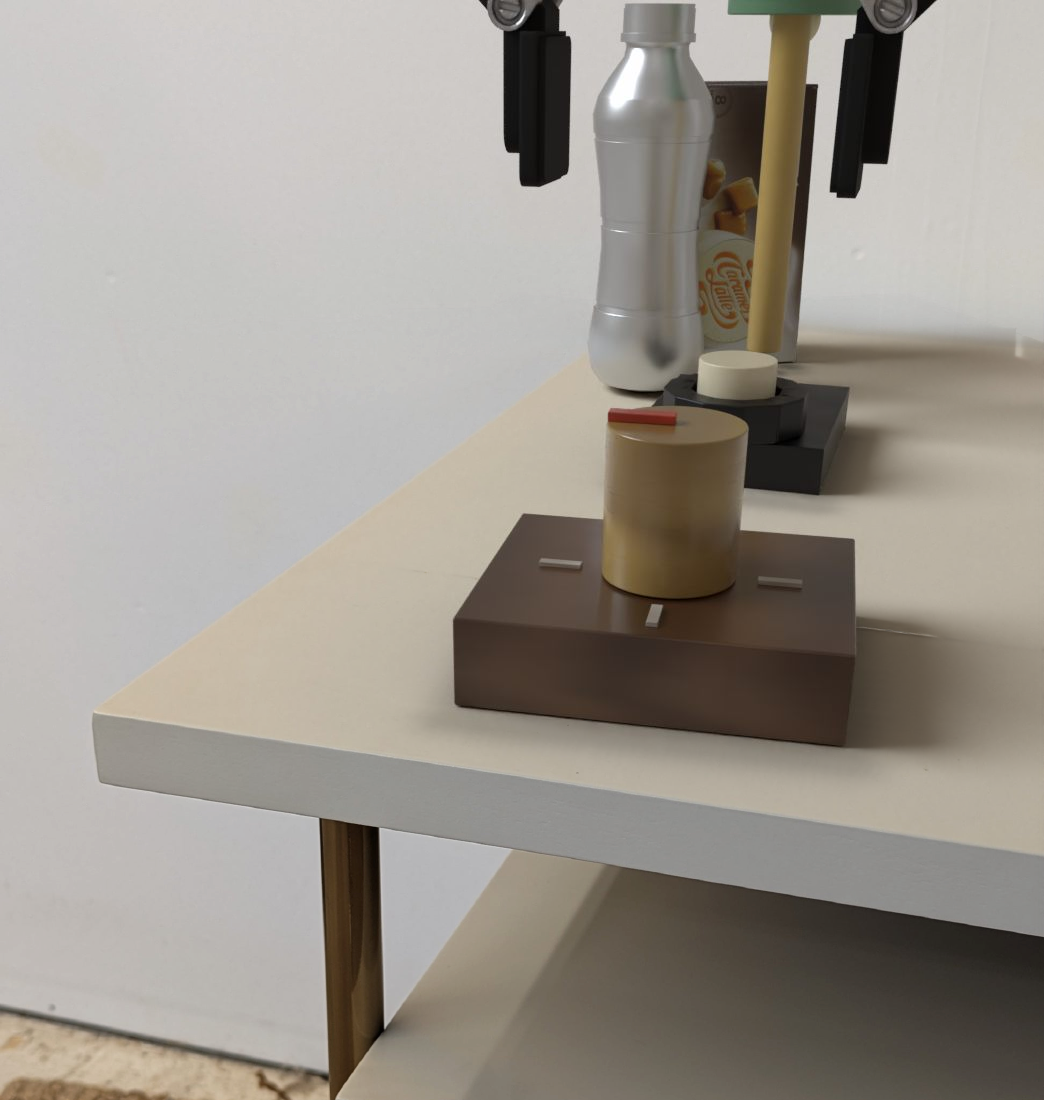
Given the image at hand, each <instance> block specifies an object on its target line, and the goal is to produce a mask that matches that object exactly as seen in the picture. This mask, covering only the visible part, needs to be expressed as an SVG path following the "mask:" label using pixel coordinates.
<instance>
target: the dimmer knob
mask: <svg viewBox="0 0 1044 1100" xmlns="http://www.w3.org/2000/svg"><path fill="white" fill-rule="evenodd" d="M605 425H606V426H605V453H604V481H603V483H604V485H603V487H604V488H603V511H602V513H603V514H602V519H603V539H602V568H601V569H602V574H603V576H604V578H605V579H606V580H607V581H608V582H609V583H610V584H612V585H613V586H615V587H617V588H619V589H621V590H624V591H627V592H630V593H633V594H638V595H642V596H648V597H655V598H666V599H687V598H697V597H704V596H708V595H713V594H716V593H719V592H721V591H724V590H725V589H727V588H729V587H730V586H731V585H732V584H733V583H734V582H735V580H736V576H737V564H738V552H739V540H740V530H741V529H742V528H741V527H742V517H743V516H742V514H743V502H744V490H745V488H744V480H745V468H746V456H747V444H748V431H749V428H748V425H747V423H746V422H745V421H743V420H742V419H740V418H738V417H736V416H733V415H731V414H728V413H725V412H721V411H717V410H711V409H705V408H698V407H687V406H653V407H651V406H641V407H635V408H622V407H621V408H620V407H619V408H618V407H610V408H609V410H608V412H607V421H606V424H605Z"/></svg>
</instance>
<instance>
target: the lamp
mask: <svg viewBox="0 0 1044 1100" xmlns="http://www.w3.org/2000/svg"><path fill="white" fill-rule="evenodd" d="M861 6H862V4H861V2H860V0H727V10H726V11H727V12H726V13H727V15H729V16H769V20H768V22H769V23H768V24H769V25H768V26H769V30H770V33H771V38H770V50H769V59H768V61H769V62H768V73H767V74H768V75H767V81H768V85H767V97H766V110H765V122H764V135H763V147H762V160H761V172H760V185H759V197H758V210H757V222H756V235H755V247H754V260H753V272H752V285H751V297H750V310H749V322H748V335H747V347H746V348H747V350H748V351H751V352H758V353H777V352H780V351H781V349H782V339H783V328H784V317H785V306H786V295H787V285H788V274H789V263H790V252H791V241H792V230H793V219H794V208H795V197H796V187H797V176H798V165H799V154H800V143H801V132H802V121H803V110H804V100H805V89H806V84H807V76H808V65H809V55H810V44H811V41H812V40H813V39H814V38H815V36H816V35H817V33H818V32H819V29H820V26H821V22H822V20H821V19H822V16H857V10H858V9H859V8H860V7H861Z"/></svg>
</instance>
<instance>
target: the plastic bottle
mask: <svg viewBox="0 0 1044 1100" xmlns="http://www.w3.org/2000/svg"><path fill="white" fill-rule="evenodd" d="M696 6H697V5H696V3H679V2H678V3H677V2H676V3H671V2H670V3H666V2H665V3H663V2H662V3H661V2H659V3H658V2H656V3H655V2H651V3H649V2H644V3H643V2H641V3H639V2H638V3H637V2H636V3H635V2H634V3H624V8H623V21H622V23H623V24H622V32H620V40H619V41H620V43H625V51H624V56H623V57H622V58H621V59H620V62H619V63H618V64H617V65H616V67H615V68H614V70H613V71H612V72H611V74H610V75H609V77H608V78H607V79H606V81H605V83H604V85H603V87H602V88H601V90H600V91H599V93H598V95H597V98H596V101H595V104H594V108H593V112H592V129H593V130H592V131H593V134H594V138H593V141H594V149H595V157H596V158H595V160H596V167H597V175H598V185H599V208H600V209H599V213H600V218H601V225H600V252H599V262H598V270H597V271H598V272H597V273H598V274H597V282H596V292H595V305H593V308H592V312H591V316H590V323H589V328H588V329H589V330H588V336H587V348H588V357H589V363H590V369H591V370H592V372H593V374H594V375H595V377H596V379H597V380H598V382H600V383H601V384H603V385H606V386H608V387H612V388H617V389H622V390H625V391H626V390H627V391H631V392H638V393H639V392H640V393H654V392H661V391H662V392H664V387H665V386H666V385H667V384H668V382H669V381H670V380H671V379H674V378H678V376H679V375H680V374H688V375H691V374H695V373H696V374H697V373H698V369H699V358H700V356H701V355H703V350H704V333H703V321H702V315H701V309H700V308H699V307H698V303H699V278H698V237H699V227H698V223H699V219H700V218H701V207H702V197H703V188H704V183H705V177H706V172H707V167H708V161H709V156H710V151H711V145H712V140H711V139H712V134H714V127H715V118H716V115H715V110H714V105H713V100H712V97H711V95H710V93H709V90H708V88H707V86H706V84H705V82H704V81H705V80H704V78H703V76H702V75H701V72H700V71H699V69H698V68H697V66H696V65H695V63H694V61H693V60H692V57H691V53H690V45H691V43H697V33H695V29H696V16H697V15H696V13H697V8H696Z"/></svg>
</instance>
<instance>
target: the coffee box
mask: <svg viewBox="0 0 1044 1100" xmlns="http://www.w3.org/2000/svg"><path fill="white" fill-rule="evenodd" d="M704 82H705V84H706V86H707V88H708V90H709V93H710V95H711V97H712V100H713V105H714V110H715V115H716V118H715V127H714V134H712V139H711V140H712V145H711V151H710V156H709V161H708V167H707V172H706V177H705V183H704V188H703V197H702V207H701V218H700V219H699V223H698V227H699V237H698V278H699V303H698V307H699V308H700V309H701V315H702V321H703V333H704V350H703V354H706V353H710V352H715V351H729V350H736V351H748V350H747V348H746V347H747V335H748V322H749V310H750V297H751V285H752V272H753V260H754V247H755V235H756V222H757V210H758V197H759V185H760V172H761V160H762V147H763V135H764V122H765V110H766V97H767V85H768V80H704ZM818 91H819V84H818V83H806V89H805V100H804V110H803V121H802V132H801V143H800V154H799V165H798V176H797V187H796V197H795V208H794V219H793V230H792V241H791V252H790V263H789V274H788V285H787V295H786V306H785V317H784V328H783V339H782V349H781V351H780V352H777V353H763V354H767V355H770V356H773V357H775V358H776V359H777V360H778V363H790V362H791V363H792V362H796V359H797V351H798V338H799V325H800V311H801V301H802V288H803V273H804V264H805V251H806V250H805V249H806V239H807V227H808V215H809V204H810V192H811V191H810V190H811V176H812V167H813V165H812V164H813V154H814V142H815V140H814V139H815V130H816V129H815V128H816V116H817V115H816V114H817V104H818V103H817V102H818Z"/></svg>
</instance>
